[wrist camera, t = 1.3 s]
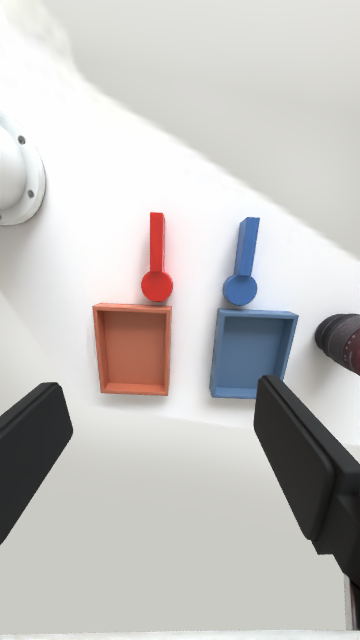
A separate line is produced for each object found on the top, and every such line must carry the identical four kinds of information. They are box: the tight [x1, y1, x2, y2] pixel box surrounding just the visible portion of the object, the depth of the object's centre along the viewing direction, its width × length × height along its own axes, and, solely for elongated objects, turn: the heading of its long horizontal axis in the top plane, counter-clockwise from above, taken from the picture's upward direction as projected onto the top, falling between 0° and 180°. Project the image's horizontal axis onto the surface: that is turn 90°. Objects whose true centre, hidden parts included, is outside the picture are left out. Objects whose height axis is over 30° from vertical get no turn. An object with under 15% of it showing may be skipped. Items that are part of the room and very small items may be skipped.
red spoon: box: [141, 212, 173, 302], centre depth 24 cm, size 11×4×3 cm, turn 178°
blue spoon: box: [223, 217, 260, 305], centre depth 24 cm, size 11×4×3 cm, turn 178°
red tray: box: [92, 303, 172, 396], centre depth 27 cm, size 15×11×2 cm
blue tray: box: [209, 308, 299, 399], centre depth 28 cm, size 15×11×2 cm
